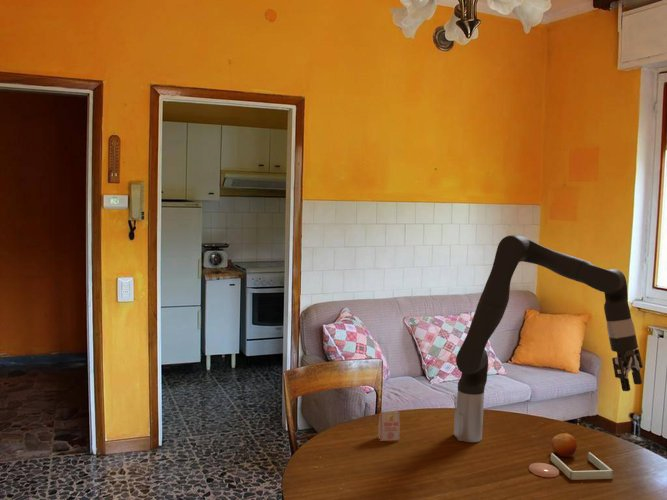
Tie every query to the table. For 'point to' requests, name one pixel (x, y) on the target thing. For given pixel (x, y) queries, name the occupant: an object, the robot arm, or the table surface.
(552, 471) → the pink shiny oval part
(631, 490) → the table surface
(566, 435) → the fruit
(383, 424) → the tea bag
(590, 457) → the pale gray u-shaped frame
